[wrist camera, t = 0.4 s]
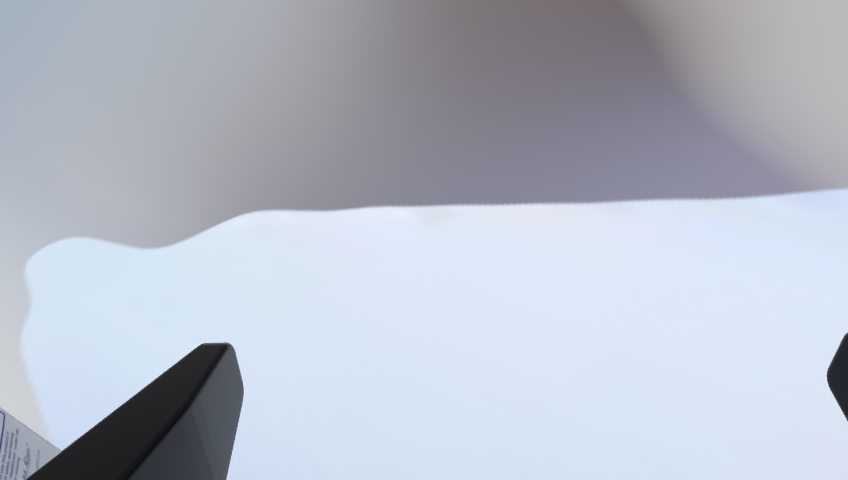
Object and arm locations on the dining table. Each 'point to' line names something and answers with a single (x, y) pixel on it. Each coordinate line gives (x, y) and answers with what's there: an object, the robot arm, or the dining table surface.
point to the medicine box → (21, 449)
